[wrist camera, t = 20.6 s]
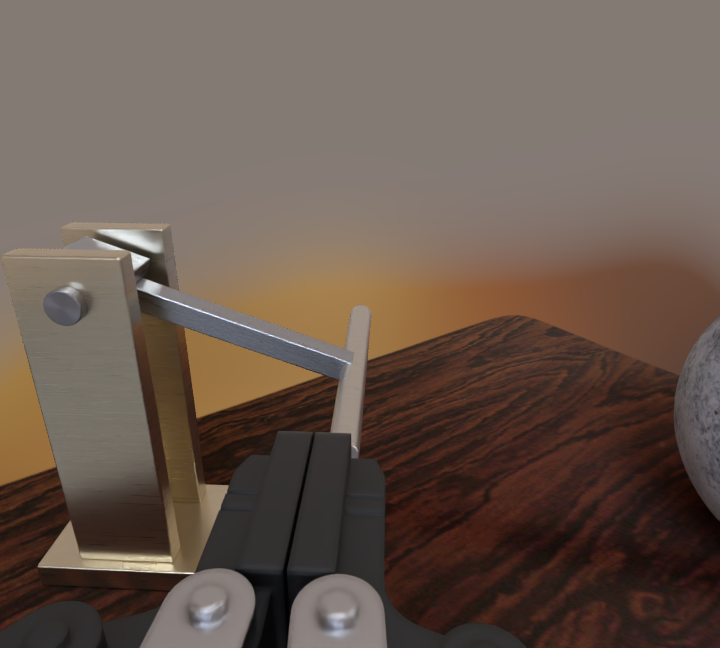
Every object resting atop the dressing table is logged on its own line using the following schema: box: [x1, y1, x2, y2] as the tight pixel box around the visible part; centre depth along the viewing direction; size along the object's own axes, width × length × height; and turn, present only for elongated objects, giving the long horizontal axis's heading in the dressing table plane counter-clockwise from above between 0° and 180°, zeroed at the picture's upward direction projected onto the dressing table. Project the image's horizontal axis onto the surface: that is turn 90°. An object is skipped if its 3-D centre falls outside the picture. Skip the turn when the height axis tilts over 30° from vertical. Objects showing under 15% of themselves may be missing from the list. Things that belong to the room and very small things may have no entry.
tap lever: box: [62, 236, 371, 459], centre depth 23 cm, size 13×12×2 cm
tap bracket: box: [1, 222, 229, 591], centre depth 25 cm, size 8×6×16 cm
